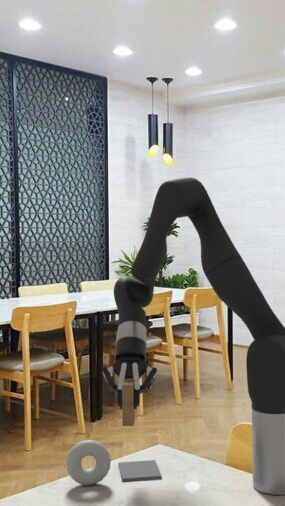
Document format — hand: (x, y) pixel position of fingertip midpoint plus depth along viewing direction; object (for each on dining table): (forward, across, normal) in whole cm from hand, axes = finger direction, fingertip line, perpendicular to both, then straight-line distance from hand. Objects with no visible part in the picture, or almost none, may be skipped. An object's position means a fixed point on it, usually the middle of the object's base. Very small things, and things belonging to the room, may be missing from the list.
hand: (128, 407), depth 139 cm
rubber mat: (+9, +2, +14) cm, 17 cm away
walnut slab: (+1, 0, +4) cm, 5 cm away
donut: (+14, -9, +9) cm, 19 cm away
